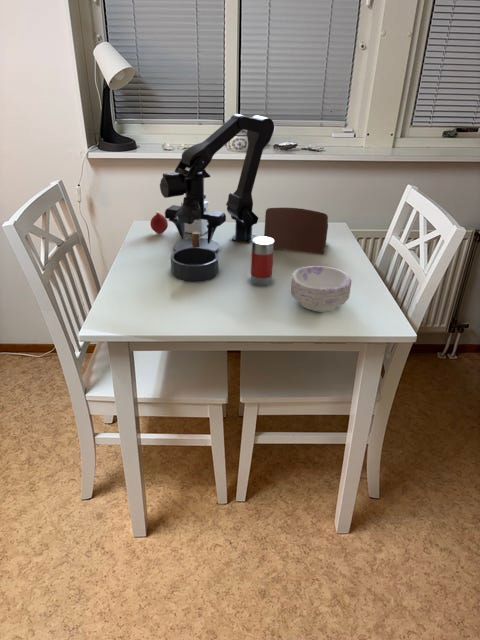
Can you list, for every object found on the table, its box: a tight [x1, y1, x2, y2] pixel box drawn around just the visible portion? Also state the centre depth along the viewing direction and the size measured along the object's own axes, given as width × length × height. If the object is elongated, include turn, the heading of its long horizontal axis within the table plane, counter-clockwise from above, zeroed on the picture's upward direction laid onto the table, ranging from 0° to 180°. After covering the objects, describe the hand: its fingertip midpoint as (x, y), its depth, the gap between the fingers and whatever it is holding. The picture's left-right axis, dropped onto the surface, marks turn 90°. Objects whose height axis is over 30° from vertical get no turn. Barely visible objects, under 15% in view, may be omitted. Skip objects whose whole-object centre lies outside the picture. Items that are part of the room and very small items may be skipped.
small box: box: [180, 200, 210, 236], centre depth 170 cm, size 8×6×10 cm
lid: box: [173, 232, 220, 253], centre depth 157 cm, size 15×15×6 cm
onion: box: [149, 211, 169, 235], centre depth 167 cm, size 6×6×8 cm
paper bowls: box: [290, 265, 352, 313], centre depth 127 cm, size 15×15×8 cm
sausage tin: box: [250, 236, 275, 287], centre depth 136 cm, size 6×6×12 cm
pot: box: [170, 247, 219, 283], centre depth 142 cm, size 14×14×5 cm
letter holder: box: [263, 207, 329, 255], centre depth 160 cm, size 10×20×14 cm, turn 76°
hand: (195, 241), depth 157 cm, fingers open, 9 cm apart
